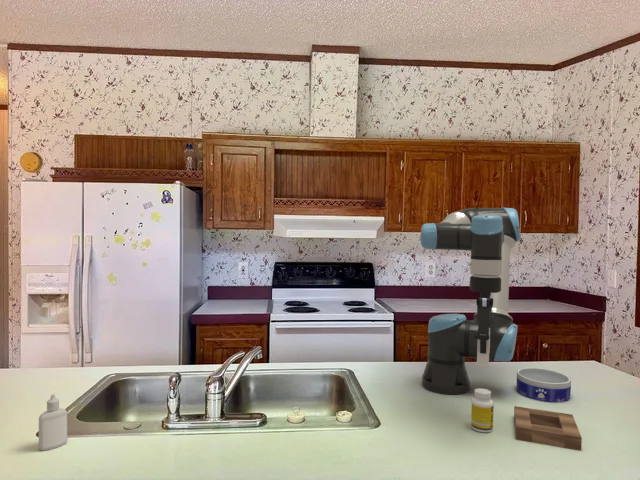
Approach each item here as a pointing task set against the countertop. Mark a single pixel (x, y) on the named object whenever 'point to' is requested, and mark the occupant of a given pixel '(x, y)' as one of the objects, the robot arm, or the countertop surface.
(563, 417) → the walnut socket block
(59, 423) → the eye dropper bottle
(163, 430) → the countertop surface
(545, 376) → the dog bowl
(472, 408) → the supplement bottle
